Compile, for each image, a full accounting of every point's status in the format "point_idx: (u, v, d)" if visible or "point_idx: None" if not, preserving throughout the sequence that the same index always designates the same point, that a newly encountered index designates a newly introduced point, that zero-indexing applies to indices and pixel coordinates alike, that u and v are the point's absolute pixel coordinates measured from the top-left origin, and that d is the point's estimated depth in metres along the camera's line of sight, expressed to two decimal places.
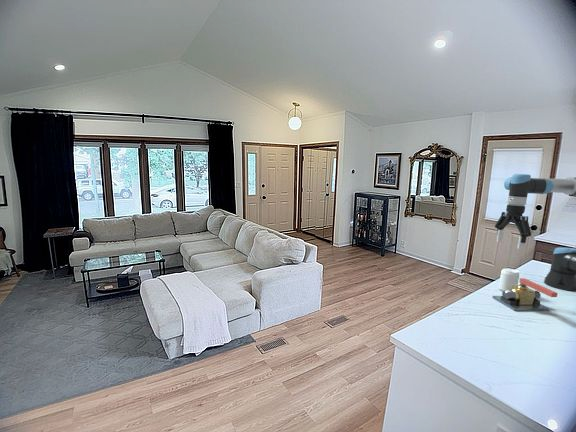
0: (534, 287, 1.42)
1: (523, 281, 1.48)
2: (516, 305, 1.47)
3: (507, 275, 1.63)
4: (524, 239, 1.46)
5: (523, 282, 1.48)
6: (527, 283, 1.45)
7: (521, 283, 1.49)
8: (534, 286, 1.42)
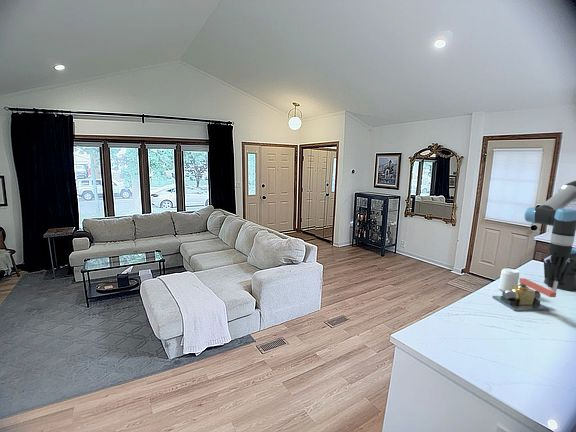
0: (533, 287, 1.42)
1: (523, 281, 1.48)
2: (516, 305, 1.47)
3: (507, 275, 1.63)
4: (549, 282, 1.35)
5: (523, 282, 1.48)
6: (527, 283, 1.45)
7: (521, 283, 1.49)
8: (533, 286, 1.42)
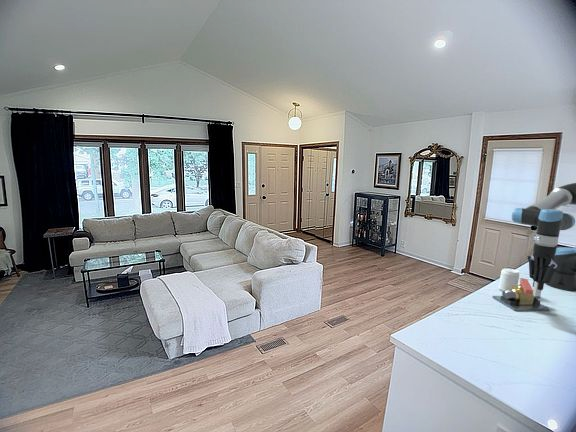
0: (522, 285, 1.43)
1: (521, 280, 1.48)
2: (516, 305, 1.47)
3: (507, 275, 1.63)
4: (541, 286, 1.32)
5: (520, 281, 1.48)
6: (521, 282, 1.46)
7: (520, 282, 1.49)
8: (522, 284, 1.43)
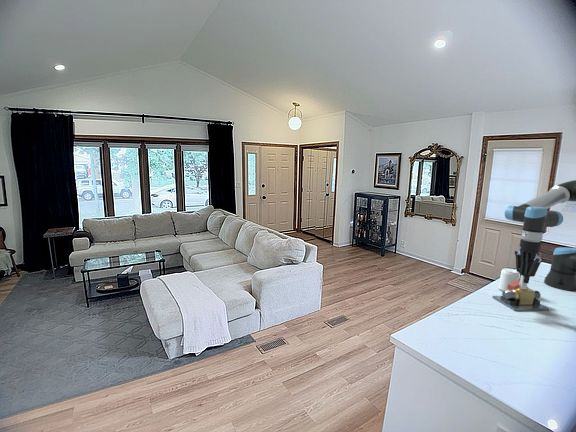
0: None
1: None
2: (516, 305, 1.47)
3: (507, 275, 1.63)
4: (527, 279, 1.39)
5: None
6: None
7: None
8: None
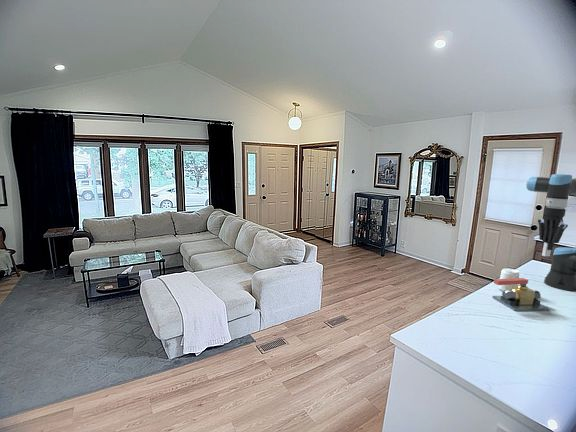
0: None
1: None
2: (516, 305, 1.47)
3: (507, 275, 1.63)
4: (551, 246, 1.41)
5: None
6: None
7: None
8: None
